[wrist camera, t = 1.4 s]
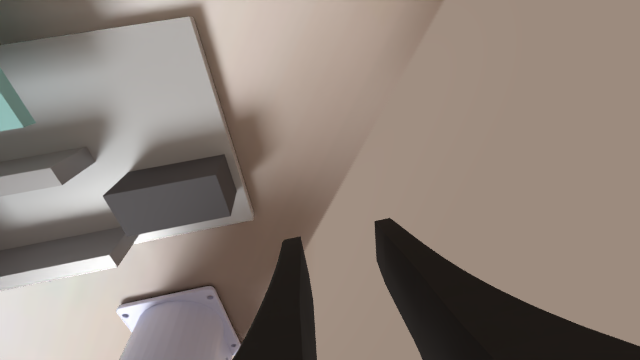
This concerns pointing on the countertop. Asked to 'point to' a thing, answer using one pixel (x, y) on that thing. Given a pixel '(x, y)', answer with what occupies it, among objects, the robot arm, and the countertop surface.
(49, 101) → the board
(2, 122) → the cover
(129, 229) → the grey rectangular prism
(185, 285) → the countertop surface
